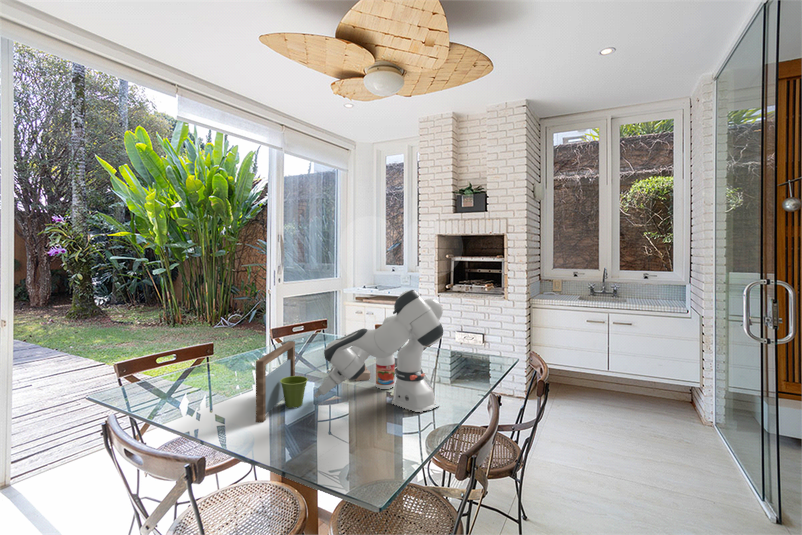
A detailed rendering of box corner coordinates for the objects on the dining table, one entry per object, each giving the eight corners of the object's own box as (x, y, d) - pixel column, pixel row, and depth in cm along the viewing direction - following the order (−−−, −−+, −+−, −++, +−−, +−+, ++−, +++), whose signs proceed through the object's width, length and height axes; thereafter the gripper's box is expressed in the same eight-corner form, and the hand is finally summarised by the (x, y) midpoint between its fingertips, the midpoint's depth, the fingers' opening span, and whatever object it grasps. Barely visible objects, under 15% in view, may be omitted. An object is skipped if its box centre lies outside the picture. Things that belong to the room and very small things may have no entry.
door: (290, 390, 184) (290, 359, 184) (264, 416, 154) (264, 379, 153) (284, 390, 184) (284, 359, 184) (257, 415, 154) (257, 378, 153)
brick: (371, 380, 204) (371, 371, 204) (355, 381, 202) (355, 372, 201) (364, 371, 220) (364, 363, 220) (349, 373, 217) (349, 364, 217)
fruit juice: (391, 383, 199) (391, 329, 198) (396, 389, 190) (397, 332, 189) (373, 384, 196) (374, 330, 195) (378, 391, 187) (378, 333, 186)
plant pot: (300, 411, 161) (300, 385, 161) (274, 409, 163) (274, 383, 163) (312, 401, 173) (312, 376, 172) (288, 399, 175) (288, 374, 175)
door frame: (294, 390, 187) (294, 341, 186) (263, 422, 150) (263, 361, 150) (288, 390, 187) (288, 341, 186) (255, 422, 150) (255, 361, 150)
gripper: (340, 359, 180) (320, 380, 181) (329, 372, 159) (306, 395, 160) (350, 369, 180) (329, 389, 181) (340, 383, 159) (317, 406, 160)
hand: (318, 392), depth 170 cm, fingers open, 8 cm apart
